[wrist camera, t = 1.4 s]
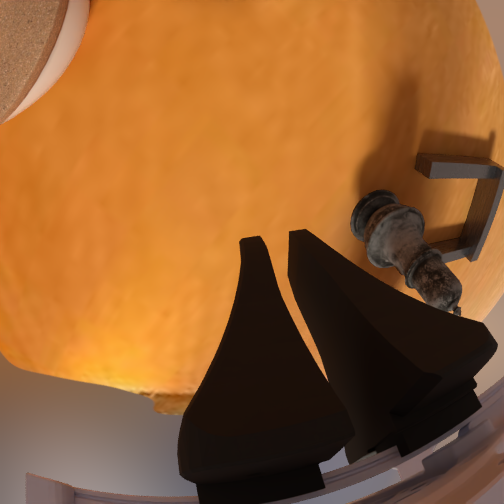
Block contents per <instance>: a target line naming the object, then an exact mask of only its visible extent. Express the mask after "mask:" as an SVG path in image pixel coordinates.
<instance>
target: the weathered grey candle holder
mask: <svg viewBox="0 0 504 504" xmlns="http://www.w3.org/2000/svg"><path fill="white" fill-rule="evenodd" d="M350 225H351V231H352V232H353V234H354V236H355V237H356V238H357V239H358V240H361V241H363V242H365V247H366V250H367V257H368V259H369V261H370V262H371V263H372V264H373V265H374V266H376V267H379V268H389V267H392V266H397V267H398V269H399V270H400V271H401V272H402V274H403V275H404V276H405V284H406V285H407V287H408V288H412V289H413V288H415V289H416V290H417V291H418V293H419V294H420V295H421V297H422V298H423V300H424V301H425V302H426V304H428V305H430V306H433V307H435V308H438V309H440V310H443V311H446V312H448V311H452V310H453V311H454V313H453V314H454V315H455V314H456V315H457V316H458V315H459V316H461V310H460V309H461V307H458V306H457V305H458V303H459V300H460V297H461V294H462V285H461V283H460V281H459V280H458V278H457V277H456V276H455V275H454V274H453V273H452V272H451V270H450V269H449V268H448V267H447V266H446V265H445V264H444V263H443V261H442V254H441V252H440V251H439V250H438V249H432V248H431V247H430V246H429V245H428V244H427V243H426V242H425V241H424V240H423V238H422V237H423V233H424V226H425V222H424V218H423V215H422V214H421V212H420V211H419V210H417V209H416V208H414V207H409V206H405V205H401V204H400V203H399V200H398V198H397V197H396V196H395V194H393V193H392V192H390V191H387V190H377V191H374V192H372V193H370V194H368V195H367V196H365V197H364V198H363V199H362V200H361V201H360V202H359V203H358V204H357V206H356V208H355V209H354V211H353V214H352V217H351V223H350Z"/></svg>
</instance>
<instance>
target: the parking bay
mask: <svg viewBox="0 0 504 504" xmlns="http://www.w3.org/2000/svg"><path fill="white" fill-rule="evenodd" d="M415 169H416V170H417V171H419V172H420V173H422V174H423V175H424V176H426V177H427V178H429V179H439V178H479V179H478V183H477V187H476V190H475V194H474V197H473V201H472V204H471V207H470V210H469V213H468V216H467V219H466V222H465V225H464V228H463V231H462V234H461V236H460V238H456V239H451V240H447V241H442V242H437V243H433V244H428V245H429V246H430V247H431V248H432V249H438V250H439V251H440V252H441V254H442V261H443V263H447V262H451V261H454V260H457V259H461V258H464V257H466V258H467V259H468V260H469V261H470V262H472V261H475V260H477V259H478V257H479V254H480V252H481V250H482V247H483V245H484V243H485V240H486V238H487V235H488V233H489V230H490V228H491V225H492V222H493V220H494V217H495V214H496V211H497V208H498V205H499V202H500V199H501V196H502V193H503V189H504V167H502V166H500V165H499V164H497V163H496V162H494V161H492V160H491V159H486V158H477V157H466V156H455V155H441V154H423V153H418V154H417V160H416V166H415ZM395 267H396V268H397V270H398V271H399V272H400V274H401V275H403V274H402V272H401V271H400V270H399V269H398V267H397V266H395Z"/></svg>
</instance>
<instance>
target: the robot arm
mask: <svg viewBox="0 0 504 504" xmlns="http://www.w3.org/2000/svg"><path fill="white" fill-rule="evenodd" d="M239 244H240V255H241V267H240V275H239V281H238V286H237V291H236V295H235V300H234V304H233V307H232V311H231V314H230V317H229V320H228V323H227V326H226V329H225V332H224V334H223V337H222V340H221V342H220V345H219V347H218V350H217V352H216V354H215V356H214V358H213V360H212V362H211V365H210V367H209V369H208V371H207V373H206V375H205V377H204V379H203V381H202V383H201V385H200V386H199V388H198V390H197V392H196V393H195V395H194V397H193V398H192V400H191V402H190V403H189V405H188V407H187V409H186V410H185V412H184V414H183V419H182V423H181V427H180V432H179V438H178V452H177V455H178V464H179V473H180V475H181V476H182V477H183V478H184V479H186V480H189V481H191V482H193V483H195V484H196V487H197V492H198V496H187V497H154V496H134V495H122V494H114V493H106V492H99V491H92V490H86V489H81V488H76V487H72V486H71V485H68V484H65V483H62V482H59V481H55V480H51V479H48V478H44V477H41V476H37V475H34V474H30V473H26V504H291V503H295V502H299V501H303V500H307V499H311V498H314V497H318V496H321V495H324V494H327V493H331V492H334V491H337V490H340V489H343V488H346V487H348V486H351V485H354V484H356V483H359V482H361V481H364V480H366V479H369V478H371V477H374V476H376V475H378V474H380V473H383V472H385V471H387V470H389V469H396V470H398V473H399V475H400V478H401V481H400V482H398V483H396V484H394V485H391V486H389V487H387V488H385V489H382V490H380V491H378V492H375V493H373V494H370V495H368V496H366V497H363V498H360V499H358V500H355V501H352V502H350V503H347V504H504V377H503V378H501V379H500V380H499V381H498V382H496V383H495V384H494V385H493V386H492V387H490V388H489V389H488V390H486V391H485V392H484V393H482V394H481V395H480V396H478V397H477V396H476V394H475V392H474V390H473V389H475V388H476V387H477V383H476V381H475V380H474V378H473V377H474V376H475V375H476V374H477V373H478V372H479V371H480V370H481V369H482V368H483V366H484V365H485V364H486V363H487V362H488V361H489V360H490V359H491V357H492V356H493V355H494V353H495V352H496V350H497V347H498V344H497V342H496V341H495V339H494V338H493V336H492V335H491V333H490V332H489V330H488V329H487V327H486V326H485V325H484V323H482V322H478V321H475V320H471V319H468V318H464V317H461V316H457V315H454V314H451V313H449V312H446V311H443V310H440V309H438V308H435V307H433V306H430V305H428V304H425V303H423V302H421V301H419V300H417V299H415V298H412V297H410V296H408V295H406V294H404V293H402V292H400V291H398V290H396V289H394V288H393V287H391V286H389V285H387V284H385V283H384V282H382V281H380V280H378V279H377V278H375V277H373V276H372V275H370V274H369V273H367V272H366V271H364V270H362V269H361V268H359V267H358V266H356V265H355V264H353V263H352V262H351V261H349V260H348V259H346V258H345V257H343V256H342V255H341V254H339V253H338V252H337V251H335V250H334V249H332V248H331V247H330V246H328V245H327V244H326V243H324V242H323V241H322V240H320V239H319V238H318V237H316V236H315V235H314V234H312V233H311V232H309V231H308V230H306V229H302V230H295V231H289V252H288V278H289V282H290V285H291V288H292V291H293V294H294V298H295V300H296V302H297V305H298V307H299V309H300V311H301V314H302V316H303V318H304V320H305V322H306V324H307V327H308V329H309V331H310V333H311V335H312V338H313V340H314V342H315V344H316V346H317V349H318V351H319V354H320V356H321V359H322V362H323V365H324V369H325V372H326V375H327V378H328V381H329V382H328V381H327V379H326V378H325V376H324V375H323V373H322V371H321V370H320V368H319V367H318V365H317V363H316V362H315V360H314V358H313V356H312V355H311V353H310V351H309V349H308V348H307V346H306V344H305V342H304V341H303V339H302V337H301V335H300V333H299V331H298V329H297V327H296V325H295V323H294V321H293V319H292V317H291V315H290V313H289V311H288V309H287V307H286V305H285V302H284V300H283V298H282V296H281V293H280V290H279V287H278V284H277V280H276V277H275V273H274V270H273V266H272V263H271V259H270V256H269V253H268V249H267V246H266V245H265V243H264V241H263V239H262V238H261V237H260V236H254V237H248V238H242V239H241V240H240V241H239ZM459 429H460V430H459ZM458 430H459V433H458V437H457V438H456V439H455V440H453V441H452V442H450V443H448V444H447V445H445V446H443V447H442V448H440V449H438V450H437V451H435V452H433V451H434V449H435V447H436V445H437V444H438V443H439V442H441V441H442V440H444V439H446V438H447V437H448V436H450V435H452V434H453V433H455V432H456V431H458ZM343 447H345V453H346V457H347V460H348V462H349V465H348V466H345V467H342V468H339V469H336V470H333V471H330V472H327V473H324V474H321V471H320V468H319V465H318V464H319V463H321V462H324V461H327V460H330V459H331V458H332V457H333V456H334V455H335V454H336V453H337V452H338V451H340V450H341V449H342V448H343Z"/></svg>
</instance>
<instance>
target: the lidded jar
mask: <svg viewBox="0 0 504 504" xmlns="http://www.w3.org/2000/svg"><path fill="white" fill-rule="evenodd" d="M89 9H90V0H0V125H1V124H2V123H4V122H6V121H8V120H10V119H12V118H13V117H15V116H16V115H18V114H19V113H21V112H22V111H23V110H25V109H26V108H28V107H29V106H31V105H32V104H33V103H34V102H36V101H37V100H38V99H39V98H40V97H41V96H43V95H44V94H45V93H46V92H47V91H48V90H49V89H50V88H51V87H52V86H53V85H54V84H55V83H56V82H57V81H58V79H59V78H60V77H61V75H62V74H63V73H64V72H65V70H66V69H67V67H68V66H69V64H70V62H71V61H72V59H73V58H74V56H75V54H76V52H77V50H78V48H79V46H80V44H81V42H82V39H83V37H84V34H85V30H86V27H87V23H88V16H89Z"/></svg>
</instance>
